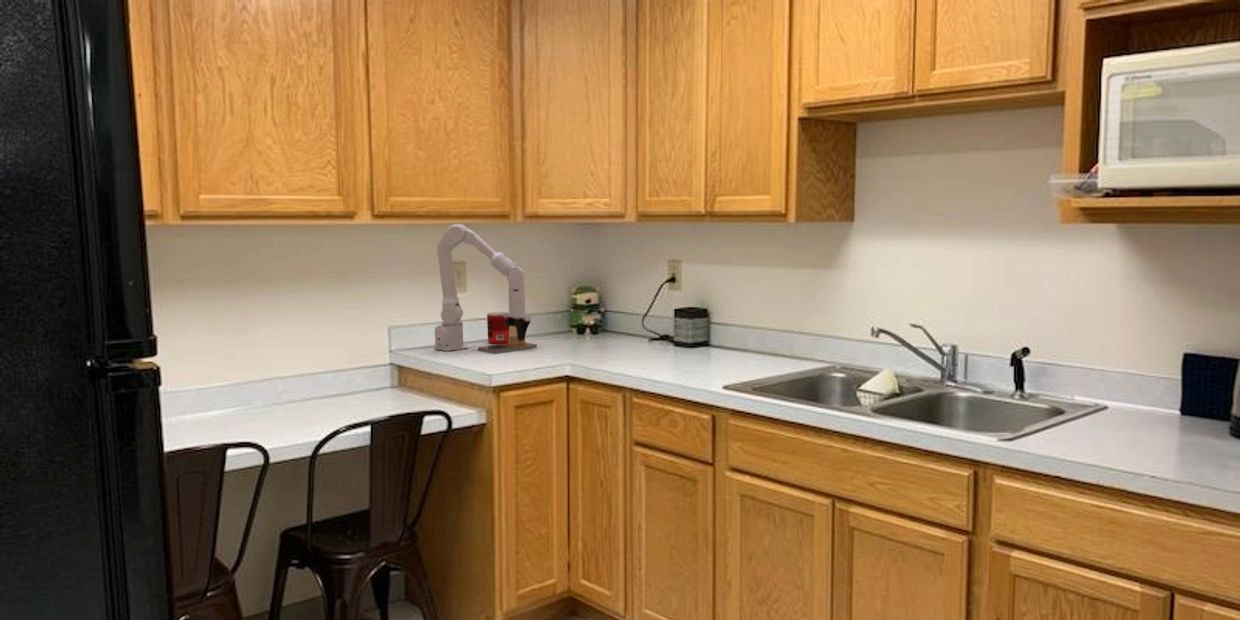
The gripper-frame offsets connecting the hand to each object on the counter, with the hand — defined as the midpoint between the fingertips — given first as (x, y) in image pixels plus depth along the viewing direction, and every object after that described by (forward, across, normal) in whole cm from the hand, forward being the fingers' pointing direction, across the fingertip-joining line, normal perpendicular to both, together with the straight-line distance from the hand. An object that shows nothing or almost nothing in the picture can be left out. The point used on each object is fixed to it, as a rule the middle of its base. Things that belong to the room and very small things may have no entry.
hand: (517, 339), depth 322 cm
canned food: (+3, +15, -2) cm, 15 cm away
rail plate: (+3, 0, +4) cm, 5 cm away
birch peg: (+2, 0, 0) cm, 2 cm away
